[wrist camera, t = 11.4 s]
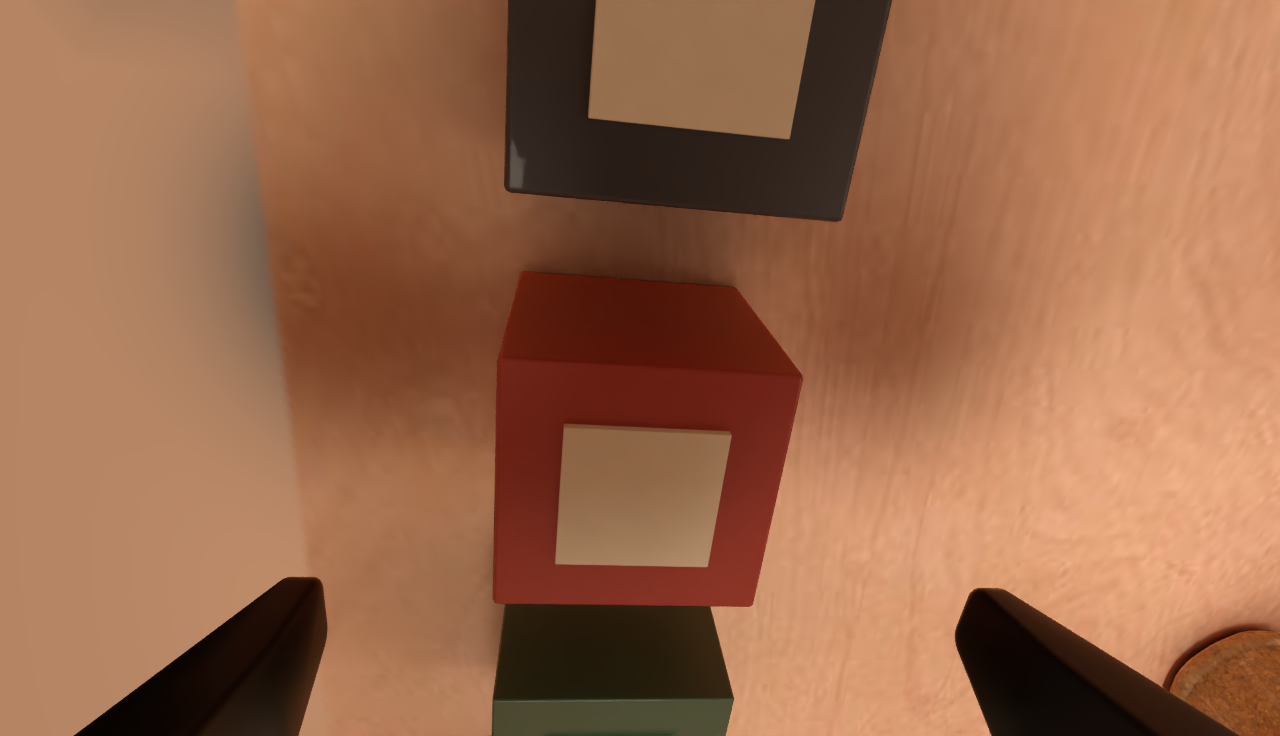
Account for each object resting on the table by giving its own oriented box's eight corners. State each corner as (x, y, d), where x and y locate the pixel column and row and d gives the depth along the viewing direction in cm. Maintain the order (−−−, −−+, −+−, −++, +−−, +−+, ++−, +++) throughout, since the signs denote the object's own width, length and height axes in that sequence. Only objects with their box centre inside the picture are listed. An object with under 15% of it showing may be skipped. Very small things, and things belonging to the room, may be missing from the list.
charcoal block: (758, 176, 14) (847, 225, 10) (526, 152, 14) (502, 194, 9) (804, -98, 12) (945, -201, 8) (536, -139, 12) (512, -277, 7)
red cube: (706, 468, 17) (755, 613, 13) (514, 461, 17) (491, 611, 12) (737, 286, 15) (808, 379, 11) (520, 270, 15) (495, 360, 10)
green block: (672, 674, 20) (702, 852, 16) (508, 673, 20) (488, 860, 15) (694, 543, 18) (736, 704, 14) (512, 539, 18) (491, 706, 13)
